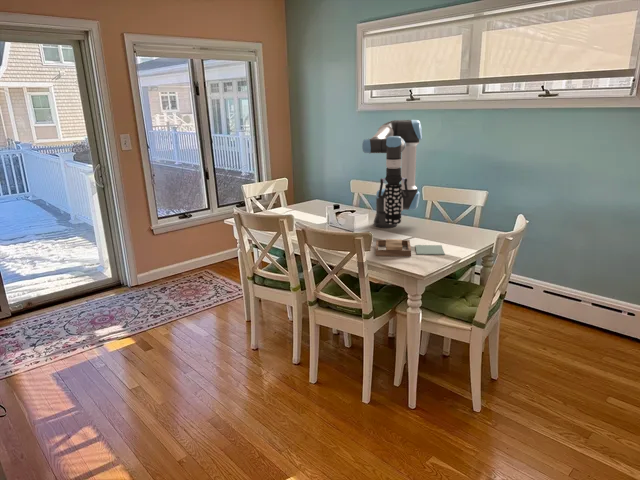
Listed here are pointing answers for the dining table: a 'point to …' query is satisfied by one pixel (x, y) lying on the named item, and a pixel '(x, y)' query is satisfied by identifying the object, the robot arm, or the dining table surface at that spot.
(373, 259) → the dining table surface
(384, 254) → the rack
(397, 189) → the spotted tube
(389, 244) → the offcut
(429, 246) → the mat
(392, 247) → the offcut
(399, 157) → the robot arm
